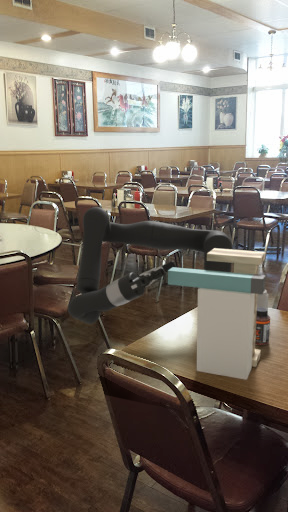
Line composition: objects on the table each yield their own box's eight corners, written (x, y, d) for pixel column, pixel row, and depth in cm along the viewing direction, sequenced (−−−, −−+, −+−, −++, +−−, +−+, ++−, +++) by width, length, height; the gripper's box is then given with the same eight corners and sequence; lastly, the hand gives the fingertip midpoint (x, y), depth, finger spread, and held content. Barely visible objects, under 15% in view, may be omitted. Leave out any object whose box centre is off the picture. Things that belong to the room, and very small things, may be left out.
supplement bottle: (246, 342, 150) (247, 309, 148) (256, 337, 154) (258, 304, 152) (262, 347, 146) (264, 313, 144) (272, 342, 150) (274, 308, 148)
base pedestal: (203, 360, 138) (205, 282, 132) (251, 368, 132) (254, 287, 127) (196, 370, 131) (197, 289, 126) (246, 379, 126) (250, 294, 121)
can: (252, 326, 163) (253, 293, 161) (242, 319, 170) (243, 287, 168) (271, 324, 165) (272, 291, 163) (260, 317, 172) (262, 286, 170)
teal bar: (172, 280, 135) (172, 267, 134) (264, 290, 125) (265, 275, 124) (167, 284, 131) (167, 270, 130) (262, 294, 121) (262, 279, 120)
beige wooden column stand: (211, 348, 146) (214, 248, 139) (260, 355, 141) (265, 251, 133) (204, 358, 139) (206, 253, 132) (255, 367, 133) (260, 257, 126)
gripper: (108, 284, 133) (154, 261, 125) (129, 272, 145) (171, 250, 138) (120, 308, 133) (167, 285, 125) (140, 293, 145) (183, 272, 138)
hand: (169, 267), depth 132 cm, fingers open, 8 cm apart
